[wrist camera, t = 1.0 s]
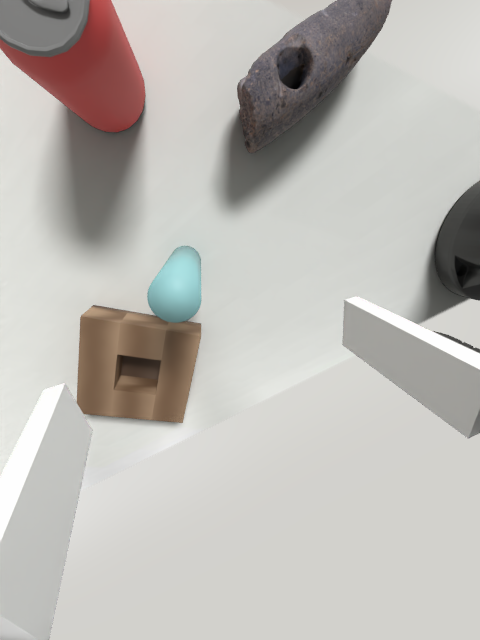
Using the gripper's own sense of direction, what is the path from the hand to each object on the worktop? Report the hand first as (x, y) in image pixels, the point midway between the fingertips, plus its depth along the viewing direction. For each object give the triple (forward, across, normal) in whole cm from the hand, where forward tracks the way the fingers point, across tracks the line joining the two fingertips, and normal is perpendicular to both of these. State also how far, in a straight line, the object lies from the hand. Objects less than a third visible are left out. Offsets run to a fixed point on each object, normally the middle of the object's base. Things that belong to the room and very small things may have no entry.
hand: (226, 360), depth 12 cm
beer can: (+21, +2, -16) cm, 27 cm away
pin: (+19, -1, 0) cm, 19 cm away
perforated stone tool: (+18, -14, -14) cm, 27 cm away
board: (+20, +7, +10) cm, 23 cm away
